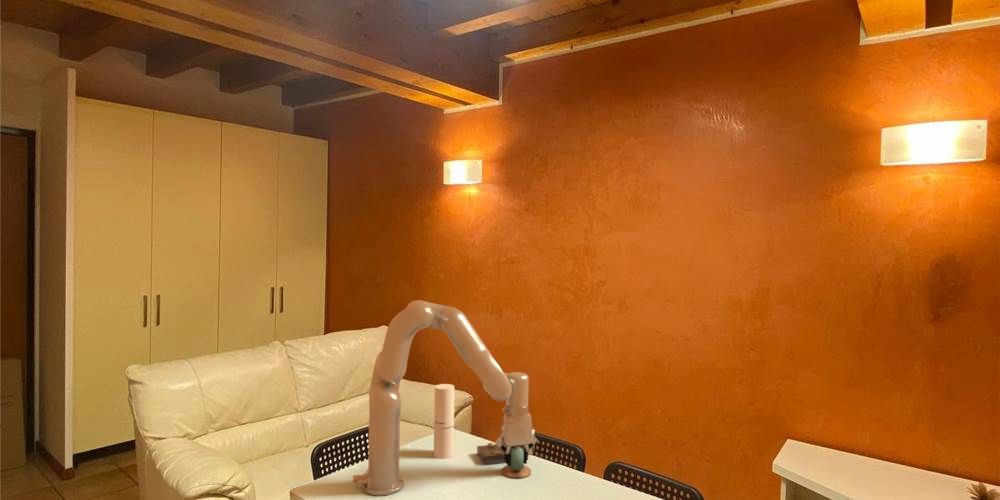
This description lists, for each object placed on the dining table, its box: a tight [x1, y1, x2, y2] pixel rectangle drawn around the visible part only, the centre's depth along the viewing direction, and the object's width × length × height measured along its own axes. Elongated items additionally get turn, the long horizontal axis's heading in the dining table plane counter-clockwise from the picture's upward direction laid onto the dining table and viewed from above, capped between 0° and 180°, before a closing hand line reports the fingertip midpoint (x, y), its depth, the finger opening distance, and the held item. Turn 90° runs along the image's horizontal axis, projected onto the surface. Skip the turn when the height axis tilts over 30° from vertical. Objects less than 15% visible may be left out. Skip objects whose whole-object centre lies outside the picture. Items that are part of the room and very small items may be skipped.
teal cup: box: [508, 445, 525, 470], centre depth 170 cm, size 5×5×7 cm
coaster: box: [501, 464, 532, 480], centre depth 170 cm, size 10×10×1 cm
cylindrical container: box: [433, 383, 455, 460], centre depth 184 cm, size 7×7×25 cm
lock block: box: [476, 442, 506, 466], centre depth 182 cm, size 10×10×4 cm
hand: (516, 462), depth 170 cm, fingers closed on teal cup, 5 cm apart
